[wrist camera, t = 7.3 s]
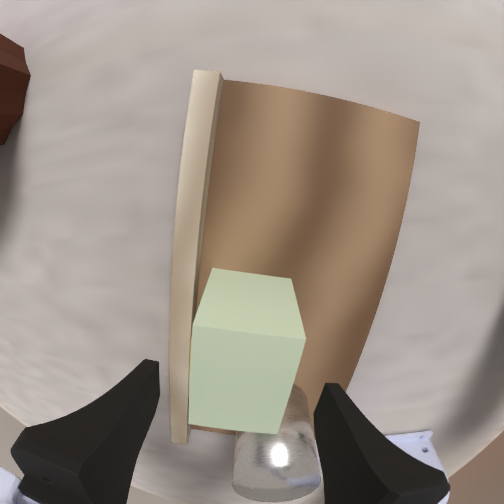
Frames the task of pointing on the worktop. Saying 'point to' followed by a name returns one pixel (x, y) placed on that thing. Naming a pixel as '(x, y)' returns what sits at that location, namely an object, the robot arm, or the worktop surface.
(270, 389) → the tea box
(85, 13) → the worktop surface
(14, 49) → the muffin
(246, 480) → the metal can
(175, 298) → the shelf board
